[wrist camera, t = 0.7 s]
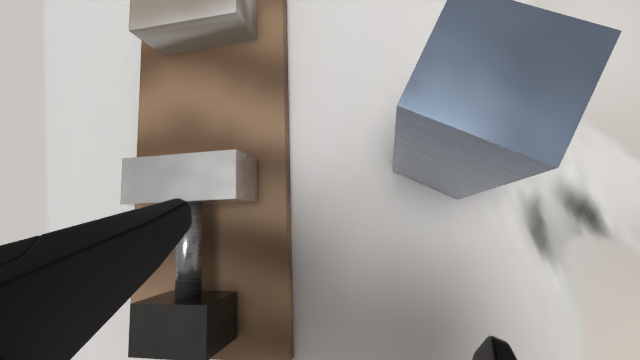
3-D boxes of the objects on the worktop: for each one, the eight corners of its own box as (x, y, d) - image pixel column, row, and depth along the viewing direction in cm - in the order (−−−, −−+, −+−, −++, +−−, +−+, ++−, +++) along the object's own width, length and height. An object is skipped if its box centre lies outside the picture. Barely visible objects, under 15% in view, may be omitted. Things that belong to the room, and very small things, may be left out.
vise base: (293, 357, 22) (269, 390, 18) (138, 348, 24) (84, 376, 20) (285, -22, 26) (264, -71, 21) (152, 3, 28) (108, -37, 24)
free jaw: (258, 338, 21) (231, 363, 18) (151, 334, 23) (106, 355, 19) (257, 159, 23) (231, 147, 19) (157, 166, 25) (116, 157, 21)
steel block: (457, 199, 21) (558, 168, 9) (392, 171, 22) (396, 105, 10) (483, 143, 21) (621, 31, 9) (417, 118, 22) (454, -16, 10)
